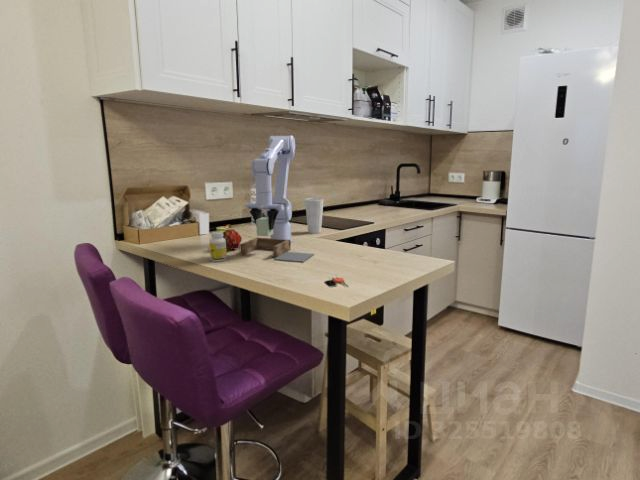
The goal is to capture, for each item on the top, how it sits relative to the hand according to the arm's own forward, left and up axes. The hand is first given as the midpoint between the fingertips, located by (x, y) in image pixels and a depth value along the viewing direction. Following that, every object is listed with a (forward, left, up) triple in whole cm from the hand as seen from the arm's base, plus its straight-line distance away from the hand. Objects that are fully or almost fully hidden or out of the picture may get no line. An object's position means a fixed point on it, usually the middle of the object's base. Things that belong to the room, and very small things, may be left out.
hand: (265, 228), depth 153 cm
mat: (+4, +13, -9) cm, 16 cm away
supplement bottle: (+15, -11, -9) cm, 20 cm away
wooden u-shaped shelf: (0, 0, -9) cm, 9 cm away
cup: (-42, +4, -9) cm, 44 cm away
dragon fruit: (-1, -16, -9) cm, 19 cm away
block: (0, 0, -2) cm, 2 cm away
